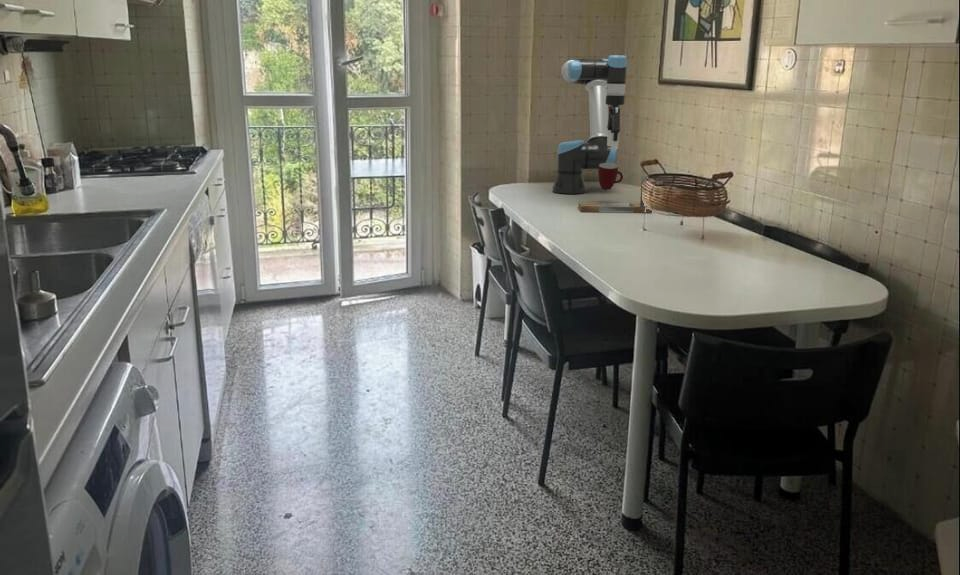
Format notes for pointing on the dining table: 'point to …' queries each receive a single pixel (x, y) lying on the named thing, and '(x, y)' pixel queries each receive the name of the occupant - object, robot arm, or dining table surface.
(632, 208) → the wooden stand
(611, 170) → the mug
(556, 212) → the dining table surface
